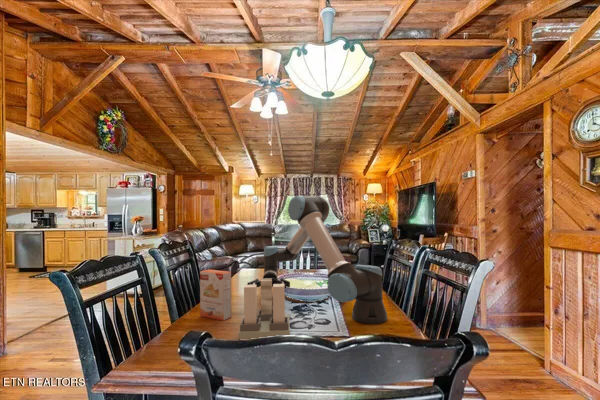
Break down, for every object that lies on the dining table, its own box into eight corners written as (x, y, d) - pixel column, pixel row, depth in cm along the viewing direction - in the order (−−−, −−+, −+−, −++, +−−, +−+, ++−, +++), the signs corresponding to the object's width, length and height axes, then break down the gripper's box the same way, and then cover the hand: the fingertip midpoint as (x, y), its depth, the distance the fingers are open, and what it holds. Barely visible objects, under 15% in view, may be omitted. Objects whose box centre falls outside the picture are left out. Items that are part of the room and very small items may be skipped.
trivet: (326, 290, 189) (326, 287, 189) (332, 303, 164) (332, 299, 164) (284, 291, 188) (284, 288, 188) (284, 304, 163) (284, 300, 163)
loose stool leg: (261, 316, 135) (261, 278, 135) (272, 316, 135) (271, 278, 136) (261, 319, 130) (260, 280, 131) (271, 319, 131) (271, 280, 131)
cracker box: (199, 317, 144) (199, 271, 145) (208, 313, 150) (208, 268, 150) (223, 321, 138) (222, 273, 138) (232, 317, 143) (231, 271, 144)
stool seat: (245, 322, 136) (244, 278, 137) (289, 321, 137) (288, 277, 138) (238, 340, 117) (238, 289, 118) (289, 338, 118) (289, 287, 119)
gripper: (294, 285, 164) (295, 296, 143) (246, 286, 163) (240, 298, 142) (294, 270, 164) (295, 279, 143) (245, 272, 163) (239, 281, 142)
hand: (267, 289), depth 142 cm, fingers open, 13 cm apart
